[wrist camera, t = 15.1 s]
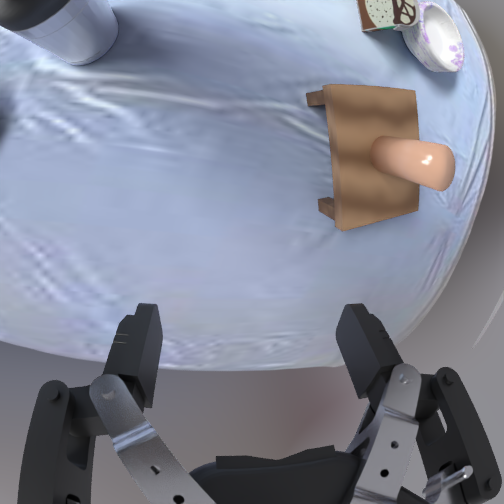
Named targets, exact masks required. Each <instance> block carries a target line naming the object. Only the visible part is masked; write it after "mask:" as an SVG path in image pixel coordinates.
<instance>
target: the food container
mask: <svg viewBox="0 0 504 504" xmlns="http://www.w3.org/2000/svg"><path fill="white" fill-rule="evenodd" d="M356 3H357V8H358V13H359V18H360V24H361V30H362V32H373V31H379V30H385V29H392V28H394V29H393V30H397V31H405V30H408V29H410V28H411V27H413V26H414V25H416V23H417V22H418V21H419V18H420V9H419V5H418V2H417V0H356Z"/></svg>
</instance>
